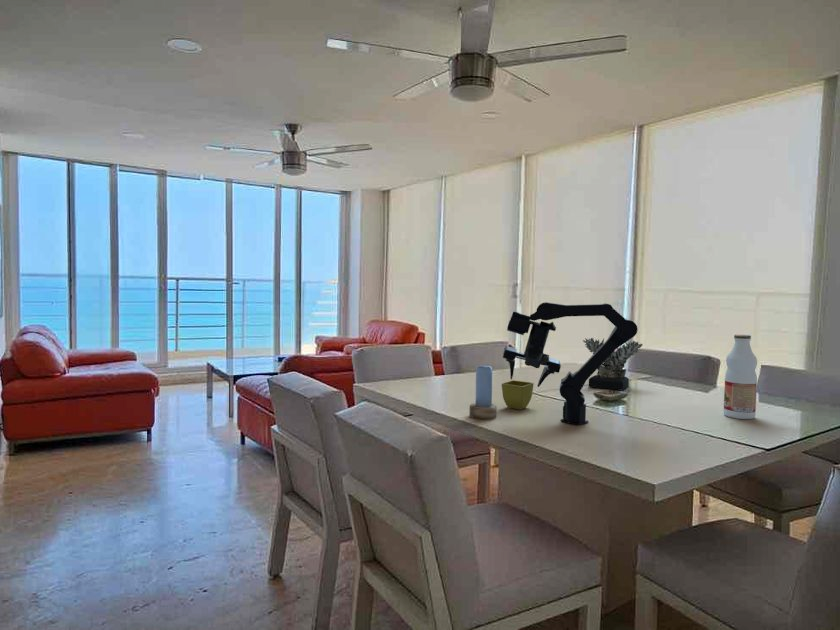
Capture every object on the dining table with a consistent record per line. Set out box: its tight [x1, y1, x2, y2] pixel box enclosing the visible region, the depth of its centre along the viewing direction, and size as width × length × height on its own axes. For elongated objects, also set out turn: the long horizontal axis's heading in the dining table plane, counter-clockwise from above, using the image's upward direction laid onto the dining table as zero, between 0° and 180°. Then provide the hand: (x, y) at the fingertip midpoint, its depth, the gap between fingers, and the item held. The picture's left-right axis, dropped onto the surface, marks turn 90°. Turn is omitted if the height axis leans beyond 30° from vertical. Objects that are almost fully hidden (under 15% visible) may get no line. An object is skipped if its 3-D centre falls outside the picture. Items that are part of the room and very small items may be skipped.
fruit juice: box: [723, 334, 758, 420], centre depth 183 cm, size 9×9×28 cm
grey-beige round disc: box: [469, 402, 498, 421], centre depth 180 cm, size 9×9×4 cm
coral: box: [582, 337, 643, 391], centre depth 237 cm, size 25×18×21 cm
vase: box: [474, 365, 493, 408], centre depth 179 cm, size 5×5×13 cm
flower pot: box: [501, 379, 534, 410], centre depth 193 cm, size 9×9×9 cm
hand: (524, 382), depth 179 cm, fingers open, 9 cm apart
